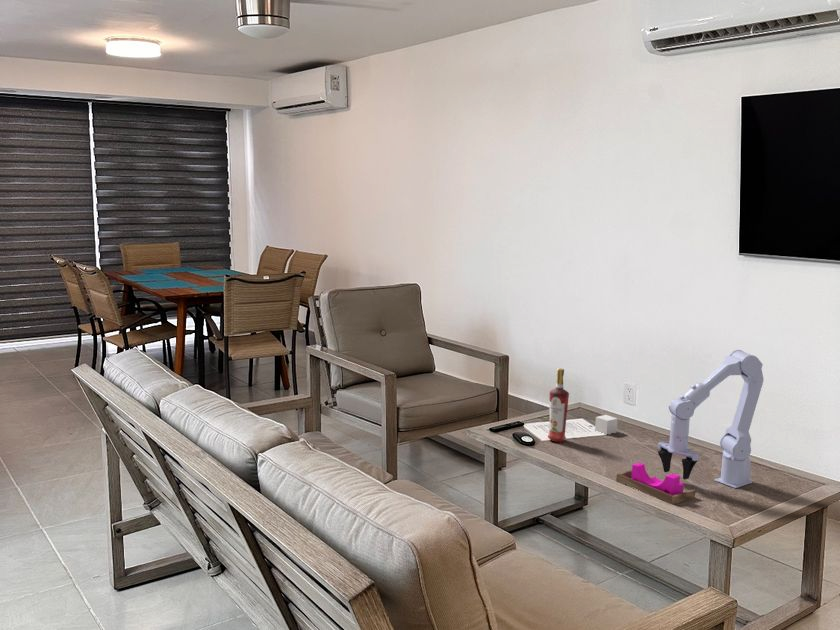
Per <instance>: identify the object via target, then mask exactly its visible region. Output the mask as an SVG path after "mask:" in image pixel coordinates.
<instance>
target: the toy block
mask: <svg viewBox="0 0 840 630" xmlns="http://www.w3.org/2000/svg"><path fill="white" fill-rule="evenodd" d="M631 470H632V477H631V479H633V480H636V481H638V482H641V483H643V484H645V485H648V486H650V487H653V488H655V489H658V490H660V491H663V492H665V493H668V494H670V495H673V496H674V495H677V494H680V493H683V492H684V487H685V486H684V485H685V483H684V482H681V481H680V480H681V475H678V474H675V473H670V474H667V475H666V476H665V477H664V480H661V479H659V478H658V477H656V476H653V477H650V476H649V474H648V472H647V470H646V465H645V464H644V463H642V462H637V463H633V464H632V465H631Z"/></svg>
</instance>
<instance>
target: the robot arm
mask: <svg viewBox="0 0 840 630" xmlns="http://www.w3.org/2000/svg"><path fill="white" fill-rule="evenodd" d="M762 369H763V363H762V361H761V360H760V359H759V358H758V357H757V356H756V355H751V354H750V353H747V352H745V351H743V350H741V349H735V350H733V351H732V352H731V353H729V355H727V356H725V357H724V359H723V361H722V363H721V364H720V365H719V366H718V367H717V368H716V369H714V371H713V372H711V374H709V375H708V377H707V378H705V379H704V380H703V382H696V383H694V384H693V383H692V384H691V385H690V388H689V389H688V390H687V391H685V392H684V393H683V394H680V395H679V397H678V398H675V399H673V400H672V401H671V402H670V405H668V410H669V412H670V413H671V419H670V427H669V428H670V430H669V443H667V442H664V441H659V442H658V444H657V448H658V449H659V450H658V451H657V453H658V456H659V458H660V460H661V464H662V468H663V472H664V473H668V472H670V470H671V464H672V463H671V462H672V458H673V454H675V455H678V456H681V457H684V458H681V463H682V479H683V480H689V479H690V475H691V473H692V471H693V468H694V467H695V465H696V464H697V462H698V461H699V459H700V458H699V457H700V454H699V453H696V452H695V451H694V450H691V449H689V448H688V447H689V436H690V435H689V432H690V422H691V421H690V420H691V418H692V417H693V416H694V413H695V410H696V409H697V408H699V406H700V405H701V404H702V403H703V402H705V401H706V400H707V399H708V398H710V396H711V395H710V394H711V391H712V390H713V389H714V388H715V387H717V386H718V385H719V384H721V383H722V382H723V381H725V380H726V379H727V378H729V377H730V376H741V378H742V380H743V384H742V389H741V392H740V396H739V399H738V402H737V406H736V410H735V414H734V415H733V420H732V423H731V425H730V426H729V427H728V428H727V429H726V430H725V433H724V434H723V435H722V437H721V438H720V440H719V444H720V445H719V446H720V447H721V449H722V460H721V472H720V477H718V478H715V479H714V481H715V482H718V483H721V484H724V485H726V486H728V487H731V488H734V489H737V488H741V487H743V486H747V485H749V484H752V483H753V481H752V480H751V474H752V473H751V471H752V462H751V459H750V458H749V457H750V455H751V452H752V448H751V447H752V446H751V443H752V438H751V434H750V428H751V425H752V421H753V418H754V414H755V412H756V411H755V410H756V408H757V404H758V400H759V398H760V395H761V391H762V388H763V385H764V375H763V370H762Z"/></svg>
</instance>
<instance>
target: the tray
mask: <svg viewBox="0 0 840 630" xmlns="http://www.w3.org/2000/svg"><path fill="white" fill-rule="evenodd" d="M631 477H632V469H630V470H626V471H622V472H619V473H616V479H615V481H616V482H617V481H618V482H617V483H619V482H621V483H620V484H622V483H623V484H622V485H624V484H626V485H625V486H627V485H628V486H627V487H629V486H631V487H634V488H636V489H638V490H637V491H639V490H640V491H639V492H641V491H642V492H641V493H643V492H645V493H644V494H646V493H647V494H646V495H648V494H649V496H651V497H653V498H655V497H656V499H658V500H660V501H662V502H665V503H668V504H670V505H677V504H680V503H683V502H686V501H689V500H692V499H695V498H696V492H697V491H696V489H690V490H685V491H683V493H680V494H677V495H674V496H673V495H670V494H668V493H665V492H663V491H660V490H658V489H655V488H653V487H650V486H648V485H645V484H643V483H641V482H638V481H636V480H633V479H631ZM631 487H630V488H631ZM634 488H633V489H634ZM636 489H635V490H636Z"/></svg>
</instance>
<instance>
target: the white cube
mask: <svg viewBox="0 0 840 630" xmlns="http://www.w3.org/2000/svg"><path fill="white" fill-rule="evenodd" d="M594 425H595V426H594V431H595V432H596V431H598V432H597V433H599V432H601V433H600V434H602V433H604V434H603V435H605V434H606V435H605V436H608V435H607V434H610V435H612V434H611V433H614V434H616V432H618V418H616V417H613V416H611V415H608V414H603V415H600V416H595V424H594Z"/></svg>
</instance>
